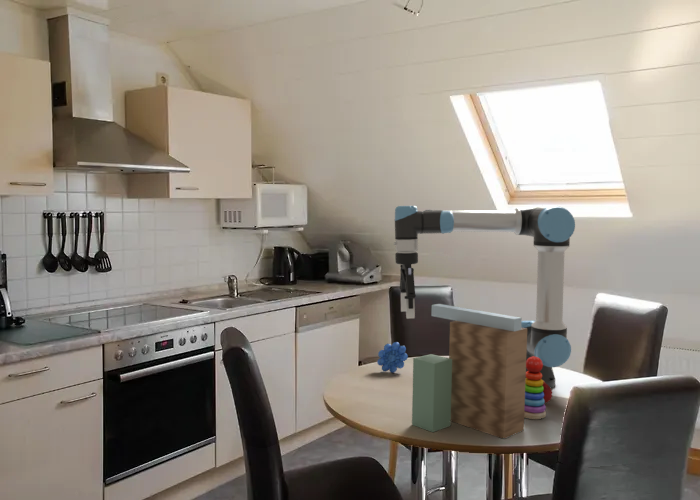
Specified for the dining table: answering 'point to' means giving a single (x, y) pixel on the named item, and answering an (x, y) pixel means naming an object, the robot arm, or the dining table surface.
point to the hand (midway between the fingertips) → (407, 314)
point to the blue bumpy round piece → (392, 357)
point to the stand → (488, 378)
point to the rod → (477, 317)
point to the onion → (547, 392)
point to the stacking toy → (534, 390)
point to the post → (432, 392)
